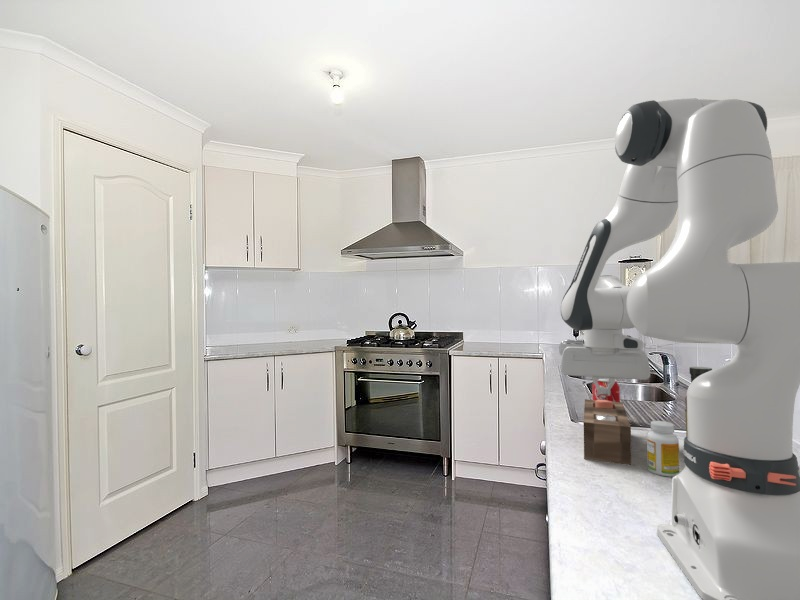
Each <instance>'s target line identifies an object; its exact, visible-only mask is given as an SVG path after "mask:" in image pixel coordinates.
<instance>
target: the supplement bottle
mask: <svg viewBox="0 0 800 600" xmlns="http://www.w3.org/2000/svg"><path fill="white" fill-rule="evenodd" d="M650 430H651V431H649V432H648V433H647V434H646V445H647V446H646V448H647V449H646V450H647V451H646V453H647V454H646V455H647V458H646V461H647V470H648V471H649V472H650V473H652V474H654V475H658V476H663V477H670V478H671V477H672V478H673V477H675V476H676V475H677V474H679V473H680V441H679V438H678V436H677V435H675V434H674V433H675V424H673V423H671V422H669V421H664V420H651V421H650Z"/></svg>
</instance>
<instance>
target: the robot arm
mask: <svg viewBox="0 0 800 600" xmlns="http://www.w3.org/2000/svg"><path fill="white" fill-rule="evenodd" d="M767 129H768V117H767V114H766V111H765V109H764V108H763V106H762V105H760V104H757V103H755V102H751V101H748V100H741V99H737V98H735V99H734V98H733V99H730V98H729V99H722V100H720V99H704V98H703V99H702V98H701V99H699V98H696V97H695V98H677V99H668V100H667V99H666V100H661V101H656V100H652V99H651V100H647V101H642V102H639V103H636V104H632V105H631V106H630V107H629V108H628V109H627V110H626V111H625V112H624V113H623V114H622V116H621V118H620V120H619V122H618V125H617V128H616V131H615V135H614V149H615V153H616V157H618V158H619V160H620V161H621V162H622V163H624V164H627V165H626V168H625V171H624V174H623V176H622V179H621V183H620V186H619V192H618V195H617V198H616V201H615V204H614V205H613V207H612V208H611V210H610V212H609V213H608V214H607V215H606V217H605V218H604V219H602V220H600V221H598V222H597V223H596V224H595V225H594V228H593V229H592V231H591V233H590V235H589V238H588V240H587V242H586V244H585V246H584V250H583V253H582V255H581V257H580V260H579V263H578V265H577V267H576V270H575V273H574V276H573V278H572V280H571V283H570V285H569V287H568V289H567V290H566V292H565V293H564V295H563V298H562V300H561V305H560V316H561V319H562V320H563V322H565V324H566V325H567V326H568V327H569V328H571V329H572V330H574V331H575V332H581V331H583V339H565V340H563V341H561V342H560V343H559V346H558V347H559V348H558V349H559V351H558V353H559V355H560V356H561V360H560V373H561V374H563V375H564V376H573V377H574V376H575V377H592V382H593V384H595V386H596V387H597V394H598V395H606V396H610V389H611V388H612V386H613V385H614V383H615V379H626V380H639V381H640V380H643V381H647V380H648V379H649V378H651V367H650V361H649V358H648V355H647V353H646V352H645V351H644V350H643V348H644V341H643V340H641V339H640V338H636V337H633V336H631V335H625V334H624V333H623V329H624V330H625V329H627V330H628V329H636V330H637V331H638V332H639V333H640V334H641V335H643V336H645V337H647V338H653V339H658V340H662V341H667V342H675V343H683V344H691V343H692V344H717V345H718V344H720V345H722V344H724V345H725V344H726V345H727V344H729V345H730V344H731V345H736V350H735V353H734V356H733V357H732V358H731V359H730V361H729V362H727V363H726V364H724V365H723V366H720V367H717V368H714V369H712V370H711V371H708V372H706V373H704V374H702V375H700V376H698V377H697V378H695V379H694V380H693V381H692V382H691V381H690V384H689V386H688V388H687V389H686V395H687V437H686V436H685V437H684V439H683V446H682V454H683V463H684V465H685V466H684V467H683V469H682V470H680V471H679V474H677V475H676V476H674V477H672V479H671V498H670V499H671V500H670V522H669V523H663V524H659V525H658V526H657V531H656V535H657V536H658V538H660V541H661V542H662V544H664V546H665V547H666V548H665V549H667V551H668V552H669V554H670V555H671V556H672V558H673V559H674V561H675V562H676V564H677V565H678V567H679V568H680V569H681V571H682V572H683V574H684V575H685V577H686V578H687V580H688V581H689V582H690V584H691V586H692V587H693V589H694V590H695V591H696V593H697V594H698V596H699V597H700V598H701V599H702V600H800V466H799V462H798V457H797V455H796V454H795V453H794V451H793V431H794V427H793V426H794V415H795V414H794V412H795V404H796V403H795V401H796V397H797V393H798V390H799V389H800V261H787V262H786V261H782V262H761V263H760V262H759V263H731V262H729V259H728V251H729V250H730V249H731V248H734V247H735V246H737V245H741V244H742V243H745V242H747V241H749V240H752V239H753V238H755V237H757V236H758V235H761V234H762V233H763V232H765V231H766V230H767V229H769V228H770V227H771V225H773V223H774V221H775V219H776V217H777V214H778V212H779V206H778V196H777V188H776V180H775V171H774V170H775V169H774V165H773V156H772V151H771V147H770V146H771V144H770V142H769V138H768V134H767ZM676 214H677V224H676V230H675V234H674V237H673V239H672V240H671V241H672V242H671V244H670V245H669V247H668V249H667V250H666V251H665V253H664V255H662V256H661V258H660V259H659V260H658V261H657V262H656V263H655V264H654V265H652V266H651V267H650V268H648V269H647V270H645V271H644V272H642V273H641V274H639V276H638V277H637V278H635V280H634V281H633V283H631V286H630V287H629V286H627V285H625V284H623V283H622V282H621V280H620V278H619V277H617V276H614V275H602V273H603V271H604V268H605V265H606V263H608V262H607V261H608V260H609V259H610V258H611V257H612V256H613V255H614V254H616V253H618V252H619V251H621V250H623V249H626V248H628V247H631V246H634V245H636V244H637V245H638V244H640V243H644V242H646V241H650V240H652V239H654V238H655V237H657V236H659V235H660V234H662V233H663V232H665V231H666V230H667V229H668V228H669V227H670V226H671V224H672V223H673V221H674V219H675V217H676ZM599 378H608V379H609V382H610V384H609V385H608V387H607V388H605V387H600V386H599V384H598V383H597V381H599Z"/></svg>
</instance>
